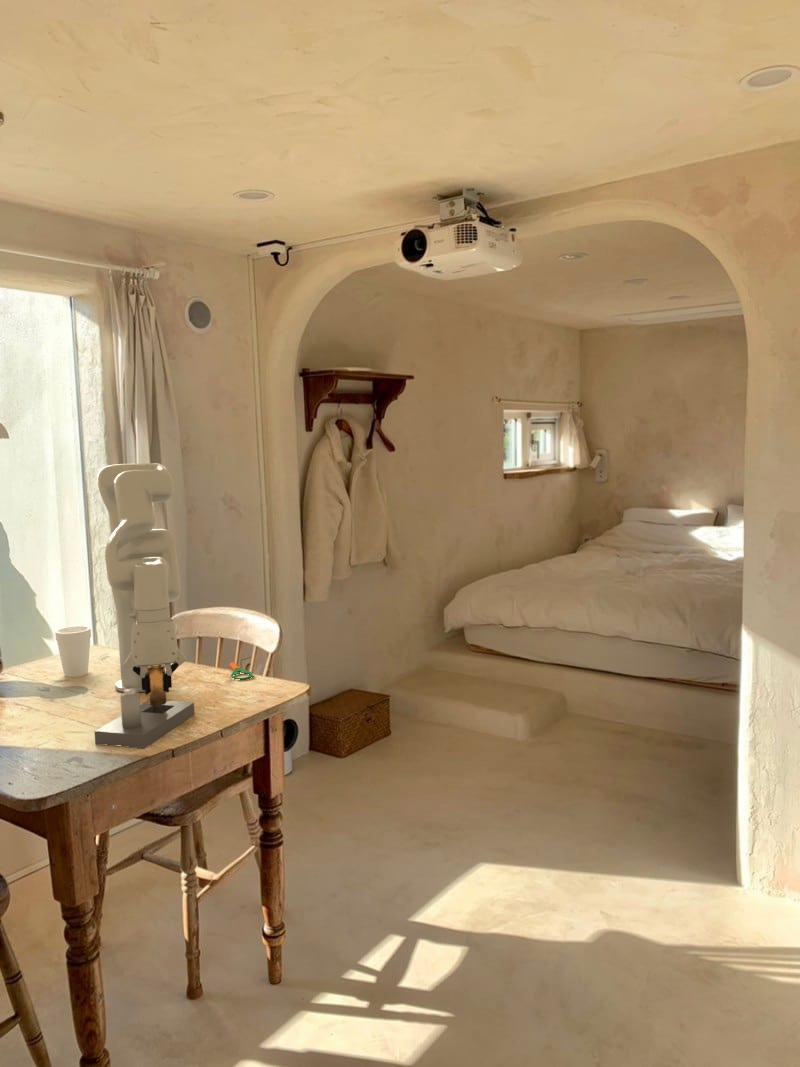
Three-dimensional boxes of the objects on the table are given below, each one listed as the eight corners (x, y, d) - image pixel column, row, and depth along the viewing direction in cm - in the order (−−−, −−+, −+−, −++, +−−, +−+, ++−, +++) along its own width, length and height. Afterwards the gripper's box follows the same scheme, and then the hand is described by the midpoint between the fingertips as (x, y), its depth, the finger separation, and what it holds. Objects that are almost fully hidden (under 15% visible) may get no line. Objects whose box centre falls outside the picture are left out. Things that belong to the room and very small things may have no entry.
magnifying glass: (255, 680, 224) (255, 674, 224) (233, 683, 222) (233, 677, 222) (242, 666, 238) (242, 661, 238) (222, 669, 236) (221, 664, 236)
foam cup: (51, 677, 230) (47, 632, 228) (73, 668, 239) (70, 625, 237) (79, 679, 227) (76, 634, 226) (100, 670, 236) (97, 626, 234)
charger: (150, 711, 199) (147, 667, 198) (194, 714, 196) (192, 670, 195) (95, 744, 178) (92, 695, 177) (144, 748, 175) (141, 698, 174)
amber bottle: (154, 699, 194) (152, 658, 193) (169, 700, 193) (167, 659, 192) (145, 705, 190) (143, 663, 189) (161, 706, 189) (158, 664, 188)
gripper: (113, 621, 183) (118, 700, 185) (190, 615, 188) (194, 692, 190) (115, 614, 190) (120, 690, 192) (189, 609, 195) (193, 683, 197)
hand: (157, 691), depth 191 cm, fingers closed on amber bottle, 4 cm apart
